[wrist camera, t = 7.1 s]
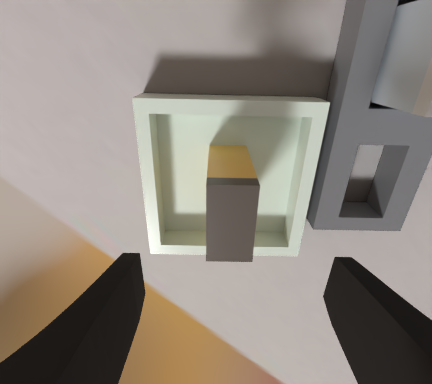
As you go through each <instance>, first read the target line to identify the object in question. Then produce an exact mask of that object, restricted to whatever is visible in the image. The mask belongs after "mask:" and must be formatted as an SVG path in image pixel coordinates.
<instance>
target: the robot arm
mask: <svg viewBox="0 0 432 384" xmlns="http://www.w3.org/2000/svg"><path fill="white" fill-rule="evenodd" d="M144 297H145V287H144V280H143V273H142V266H141V259H140V253H123V254H122V255H120V256H119V257H118V258H117V259H116V260H115V261H114V263H113V264H112V265H111V266H110V267H109V268H108V269H107V270H106V271H105V272H104V273H103V274H102V275H101V276H100V277H99V278H98V279H97V280H96V281H95V282H94V283H93V284H92V285H91V286H90V287H89V288H88V289H87V290H86V291H85V292H84V293H83V294H82V295H81V296H80V297H79V298H77V299H76V300H75V301H74V302H73V303H72V304H71V305H70V306H69V307H68V308H67V309H65V310H64V312H62V313H61V314H60V315H59V316H58V317H57V318H56V319H54V320H53V321H52V322H51V323H50V324H49V325H48V326H46V327H45V328H44V329H43V330H42V331H40V332H39V333H38V334H37V335H36V336H34V337H33V338H32V339H31V340H29V341H28V342H27V343H26V344H24V345H23V346H22V347H21V348H19V349H18V350H17V351H16V352H14V353H13V354H12V355H10V356H9V357H8V358H6V359H5V360H4V361H2V362H1V363H0V384H118V383H119V379H120V377H121V374H122V371H123V368H124V365H125V362H126V359H127V356H128V353H129V350H130V347H131V344H132V341H133V338H134V335H135V332H136V330H137V326H138V323H139V320H140V316H141V311H142V307H143V302H144ZM323 297H324V301H325V304H326V308H327V311H328V314H329V317H330V321H331V324H332V326H333V328H334V331H335V333H336V335H337V338H338V340H339V342H340V344H341V347H342V349H343V351H344V353H345V356H346V358H347V360H348V362H349V365H350V367H351V369H352V371H353V374H354V376H355V378H356V380H357V383H358V384H432V320H431V319H429V318H428V317H427V316H425V315H424V314H423V313H421V312H420V311H419V310H417V309H416V308H415V307H413V306H412V305H411V304H410V303H408V302H407V301H406V300H404V299H403V298H402V297H401V296H399V295H398V294H397V293H396V292H394V291H393V290H392V289H391V288H389V287H388V286H387V285H386V284H384V283H383V282H382V281H381V280H379V279H378V278H377V277H376V276H374V275H373V274H372V273H371V272H370V271H368V270H367V269H366V268H365V267H363V266H362V265H361V264H360V263H358V262H357V261H356V260H354V259H353V258H352V257H335V258H334V261H333V265H332V268H331V272H330V275H329V278H328V282H327V285H326V289H325V292H324V295H323Z"/></svg>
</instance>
